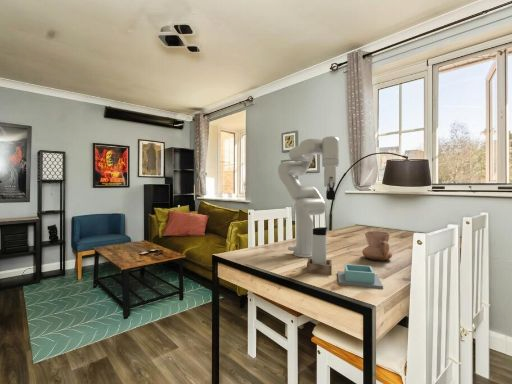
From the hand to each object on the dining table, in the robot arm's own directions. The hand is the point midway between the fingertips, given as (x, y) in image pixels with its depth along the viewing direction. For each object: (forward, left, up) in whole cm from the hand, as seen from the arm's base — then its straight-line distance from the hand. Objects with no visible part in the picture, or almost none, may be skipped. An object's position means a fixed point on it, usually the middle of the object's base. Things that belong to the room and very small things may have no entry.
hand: (330, 199), depth 129 cm
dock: (+12, -16, -32) cm, 38 cm away
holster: (-5, -7, -32) cm, 33 cm away
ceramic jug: (+25, +21, -33) cm, 46 cm away
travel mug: (-4, -7, -33) cm, 33 cm away
